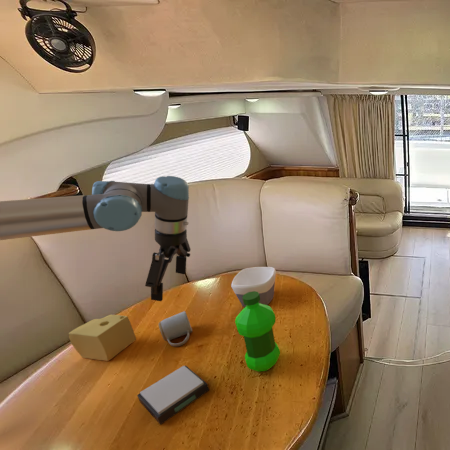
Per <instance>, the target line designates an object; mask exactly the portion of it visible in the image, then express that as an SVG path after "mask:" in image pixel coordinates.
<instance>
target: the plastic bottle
mask: <svg viewBox="0 0 450 450" xmlns="http://www.w3.org/2000/svg"><path fill="white" fill-rule="evenodd" d="M259 301H260V296H259V293H258V292H256V291H252V292H248V293H246V294H244V295H243V302H244V305H246V307H243V308H242V310H241V311H240V312H239V313H238V314H237V316H236V317H235V321H234V323H235V327H236V330H237V333H238V334H239V335H240V336H242V337H243V340H244V344H245V348H246V352H245V354H244V361H245V364H246V367H247V368H248V369H249V370H252V371H256V372H259V373H260V372H265V371H268V370H269V369H271V368H272V367H273V366H275V365H276V363H277V362H278V360H279V358H280V356H281V350H280V347H279V345H278V343H277V342H276V341H275V340H276V339H275V335H274V329H273V327H274V326H275V324H276V319H277V318H276V313H275V312H274V310H273V308H272V307H271V305H269V304H267V305H264V304H261V303H259Z"/></svg>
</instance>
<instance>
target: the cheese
mask: <svg viewBox="0 0 450 450" xmlns="http://www.w3.org/2000/svg"><path fill="white" fill-rule="evenodd" d="M68 338H69V342H70V343H71V345H72V347H73V348H74V350H75V351H76V352H77V353H78V354H79V355H80V358H82V359H88V360H98V361H106V362H109V361H110V360H112V359H113V358H115V357H116V356H117V355H118V354H120V353H121V352H122V351H123V350H125V349H126V348H127V347H128V346H129V345H131V344H133V343H134V342H136V341H137V337H136V334H135V330H134V328H133V326H132V323H131V321H130V318H129V316H127V315H122V314H107V316H104V317H102V318H94V319H91V320H89V321H88V322H85V323H83V324H81V325H80V326H78V327H76V328H74V329H72V330H71V331H70V332H68Z"/></svg>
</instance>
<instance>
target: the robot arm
mask: <svg viewBox="0 0 450 450" xmlns="http://www.w3.org/2000/svg"><path fill="white" fill-rule="evenodd" d="M189 190H190V189H189V182H187V180H185V179H183V178H181V177H179V176H173V175H167V176H165V175H162V176H159V177H157V178H156V179H155V180H154V183H138V182H126V181H116V180H109V181H108V180H97V181H95V182H94V183H93V184H92V188H91V194H88V195H87V194H86V195H84V194H83V195H69V196H54V197H42V198H41V197H40V198H27V199H14V200H13V199H12V200H0V241H6V240H13V239H14V240H15V239H23V238H32V237H38V236H40V237H41V236H48V235H55V234H56V235H57V234H64V233H73V232H80V231H81V232H82V231H89V230H98V229H105V230H107V231H112V232H123V231H128V230H130V229H132V228H133V227H135V226H136V225H137V224H138V223H139V221H140V220H141V217H142V213H154V241H155V242H156V243H157V244H158V245H159V249H158V252H155V251H154V252H153V253H152V255H151V256H152V257H151V262H150V266H149V270H148V273H147V277H146V281H145V285H144V287H147V288H150V301H157V302H162V301H163V297H164V294H163V293H164V282H163V279H164V277H165V274H166V271H167V269H168V267H169V264H171V263H172V261H173V259H174V256H176V257H175V273H176V274H180V275H186V274H187V273H186V272H187V258H190V257H191V253H190V252H191V246H190V243H189V241H188V236H187V235H188V234H187V233H188V232H187V231H188V230H187V228H188V225H189V222H188V215H189V214H188V213H189V212H188V211H189V202H190V201H189V199H190V197H189V196H190V195H189V194H190V193H189V192H190V191H189ZM176 254H177V255H176Z"/></svg>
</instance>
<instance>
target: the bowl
mask: <svg viewBox="0 0 450 450" xmlns="http://www.w3.org/2000/svg"><path fill="white" fill-rule="evenodd" d="M276 274H277V270H276V268H275V267H272V266H253V267H247V268H242V269H241V270H240V271H239V272H238V273H237V274H236V275H234V277H233V279H232V281H231V284H230V286H231V289H232V291H233V292H234V294H235V296H236V298H237V299H238V301H239V303H240V304H241V306H242V307H243V308H245V307H246V305H244V302H243V295H244V294H246V293H248V292H252V291H256V292H258V293H259V296H260V301H259V303H261V304H264V305H269V304H270V303H271V302H272V301H273V299H274V295H275V286H276Z"/></svg>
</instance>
